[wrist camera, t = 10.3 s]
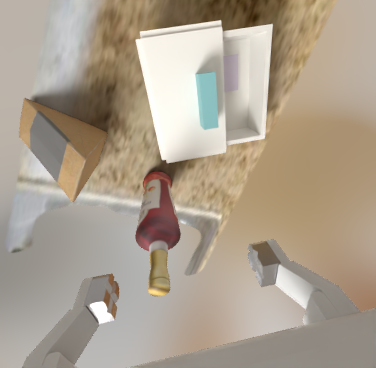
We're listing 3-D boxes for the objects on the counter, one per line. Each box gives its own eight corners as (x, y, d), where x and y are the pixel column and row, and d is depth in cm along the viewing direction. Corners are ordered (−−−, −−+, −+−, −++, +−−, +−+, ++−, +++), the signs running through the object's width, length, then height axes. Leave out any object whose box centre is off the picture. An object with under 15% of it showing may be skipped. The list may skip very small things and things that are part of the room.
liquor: (151, 163, 45) (145, 263, 21) (177, 176, 48) (199, 278, 24) (137, 187, 48) (118, 301, 24) (163, 198, 51) (170, 310, 27)
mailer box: (194, 41, 35) (202, 34, 29) (252, 32, 36) (272, 23, 30) (203, 137, 44) (211, 148, 38) (249, 129, 45) (264, 138, 39)
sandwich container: (23, 95, 36) (-52, 107, 23) (108, 131, 41) (86, 158, 28) (17, 137, 39) (-51, 169, 26) (97, 165, 44) (72, 203, 31)
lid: (135, 35, 29) (131, 27, 24) (216, 23, 30) (229, 13, 25) (162, 159, 39) (163, 172, 34) (222, 148, 40) (232, 159, 35)
